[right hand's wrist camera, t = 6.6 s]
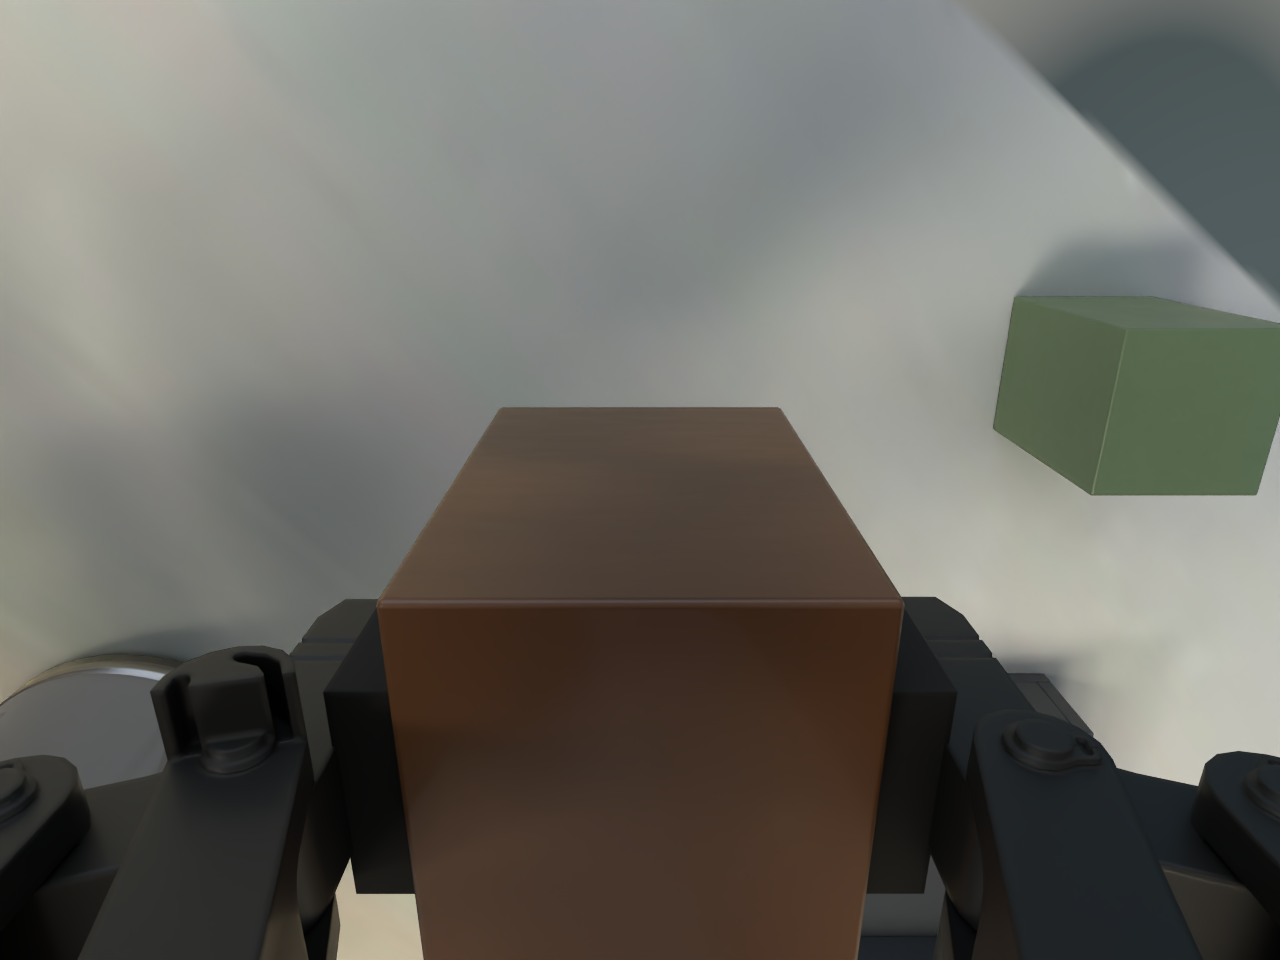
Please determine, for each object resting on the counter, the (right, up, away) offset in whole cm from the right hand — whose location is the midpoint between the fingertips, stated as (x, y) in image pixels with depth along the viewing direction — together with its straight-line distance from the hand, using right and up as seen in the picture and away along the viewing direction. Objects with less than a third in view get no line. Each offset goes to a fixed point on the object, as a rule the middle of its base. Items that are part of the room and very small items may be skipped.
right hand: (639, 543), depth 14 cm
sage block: (+16, +5, +15) cm, 22 cm away
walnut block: (0, 0, 0) cm, 0 cm away
